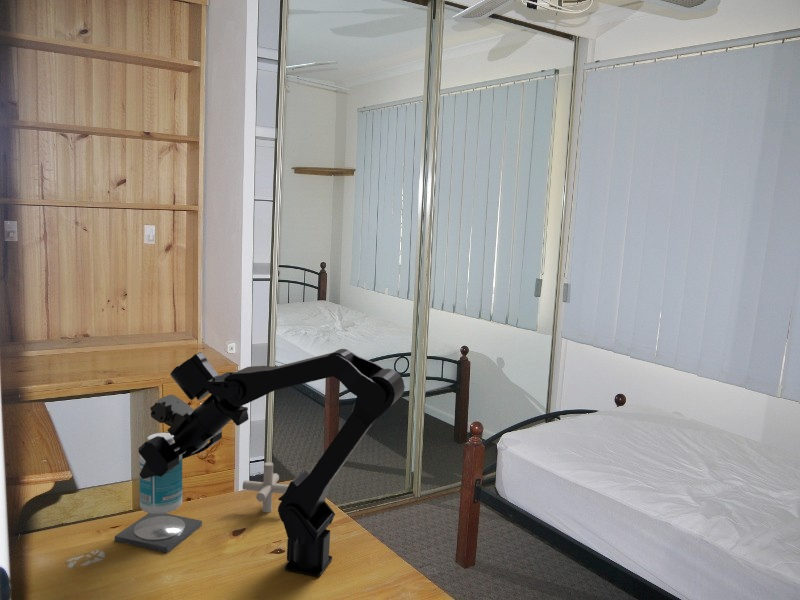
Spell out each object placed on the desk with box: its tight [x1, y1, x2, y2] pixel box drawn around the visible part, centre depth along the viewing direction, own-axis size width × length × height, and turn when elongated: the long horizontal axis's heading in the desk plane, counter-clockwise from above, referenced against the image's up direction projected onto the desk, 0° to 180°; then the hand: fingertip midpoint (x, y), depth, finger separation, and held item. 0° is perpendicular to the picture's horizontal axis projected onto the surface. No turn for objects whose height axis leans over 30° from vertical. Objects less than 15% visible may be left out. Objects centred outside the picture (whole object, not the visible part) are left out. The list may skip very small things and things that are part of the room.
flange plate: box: [114, 513, 203, 554], centre depth 124 cm, size 11×11×1 cm
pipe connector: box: [242, 461, 289, 514], centre depth 135 cm, size 10×10×10 cm
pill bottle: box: [138, 432, 183, 514], centre depth 123 cm, size 8×7×14 cm
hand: (154, 468), depth 123 cm, fingers closed on pill bottle, 7 cm apart
